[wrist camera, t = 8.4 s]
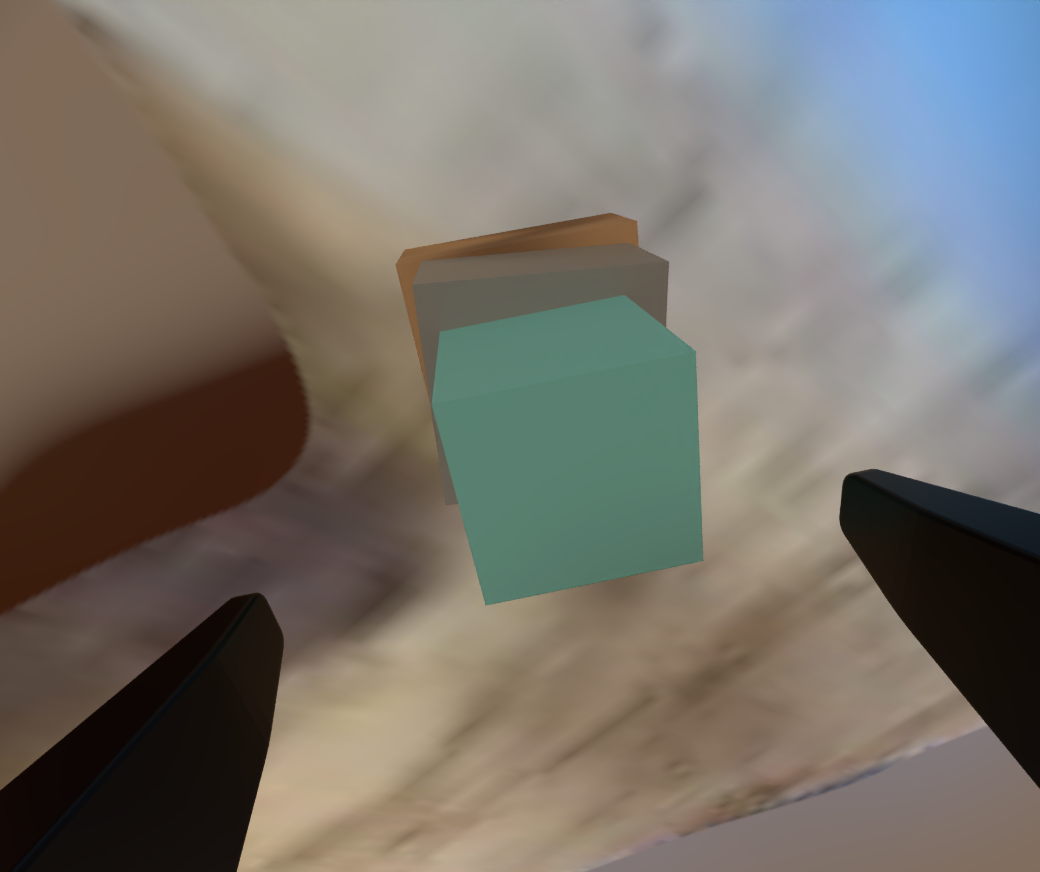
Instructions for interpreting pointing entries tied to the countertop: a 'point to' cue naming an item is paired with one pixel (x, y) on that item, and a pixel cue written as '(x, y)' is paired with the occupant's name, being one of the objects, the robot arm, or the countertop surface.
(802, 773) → the countertop surface
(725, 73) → the countertop surface
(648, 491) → the teal block
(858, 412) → the countertop surface
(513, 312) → the charcoal block
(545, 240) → the walnut base block
